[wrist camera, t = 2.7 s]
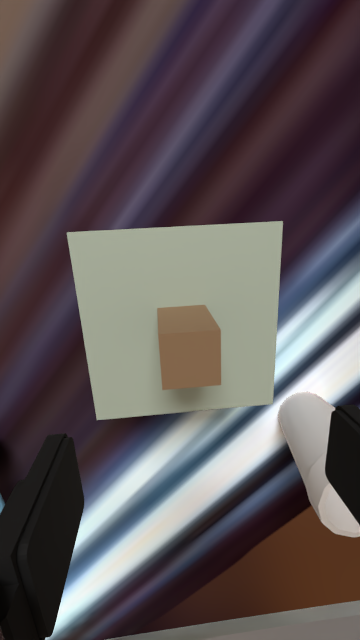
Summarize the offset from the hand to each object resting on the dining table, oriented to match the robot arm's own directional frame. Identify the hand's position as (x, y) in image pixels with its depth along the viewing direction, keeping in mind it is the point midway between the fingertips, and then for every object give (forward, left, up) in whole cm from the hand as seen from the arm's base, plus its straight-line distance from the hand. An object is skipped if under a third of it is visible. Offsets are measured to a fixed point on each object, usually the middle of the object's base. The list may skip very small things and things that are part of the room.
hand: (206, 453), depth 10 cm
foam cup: (-16, +17, -24) cm, 33 cm away
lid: (0, 0, -15) cm, 15 cm away
